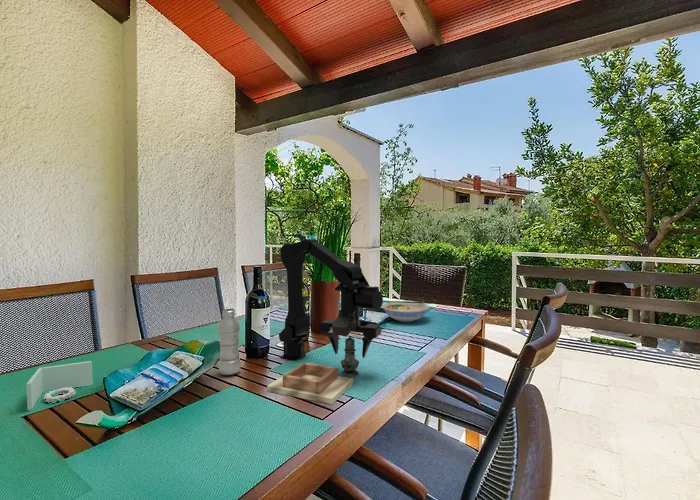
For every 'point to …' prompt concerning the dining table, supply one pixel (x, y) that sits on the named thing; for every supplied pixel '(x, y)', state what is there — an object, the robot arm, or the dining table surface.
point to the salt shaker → (349, 358)
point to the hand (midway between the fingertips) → (349, 355)
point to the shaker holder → (312, 383)
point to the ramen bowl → (406, 310)
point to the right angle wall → (58, 381)
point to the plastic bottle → (229, 343)
